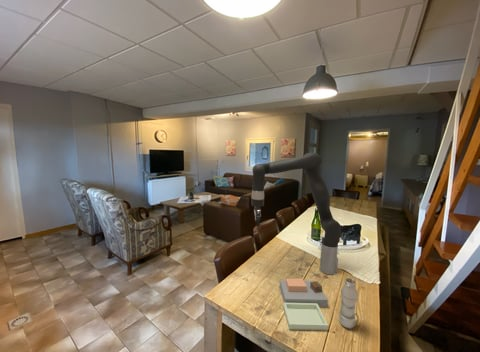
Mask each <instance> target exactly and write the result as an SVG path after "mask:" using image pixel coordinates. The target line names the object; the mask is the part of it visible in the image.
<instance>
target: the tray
mask: <svg viewBox="0 0 480 352" xmlns="http://www.w3.org/2000/svg"><path fill="white" fill-rule="evenodd" d="M282 308H283V312H284V316H285V320H286V323H287V327H288V330H289V331H319V332H320V331H321V332H322V331H326V332H328V331H329V324H328V322H327V319H326V318H325V315H324V314H323V312H322V310H321V307H319V306H318V304H317V303H284V301H283V305H282Z"/></svg>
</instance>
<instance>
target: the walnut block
mask: <svg viewBox="0 0 480 352" xmlns="http://www.w3.org/2000/svg"><path fill="white" fill-rule="evenodd" d="M314 281H315V282H310V288H311V289H312V290H313V291H314V293H317V292H322V291H323V285H322V284H321V283H320V282H319V281H318V280H314Z"/></svg>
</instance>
